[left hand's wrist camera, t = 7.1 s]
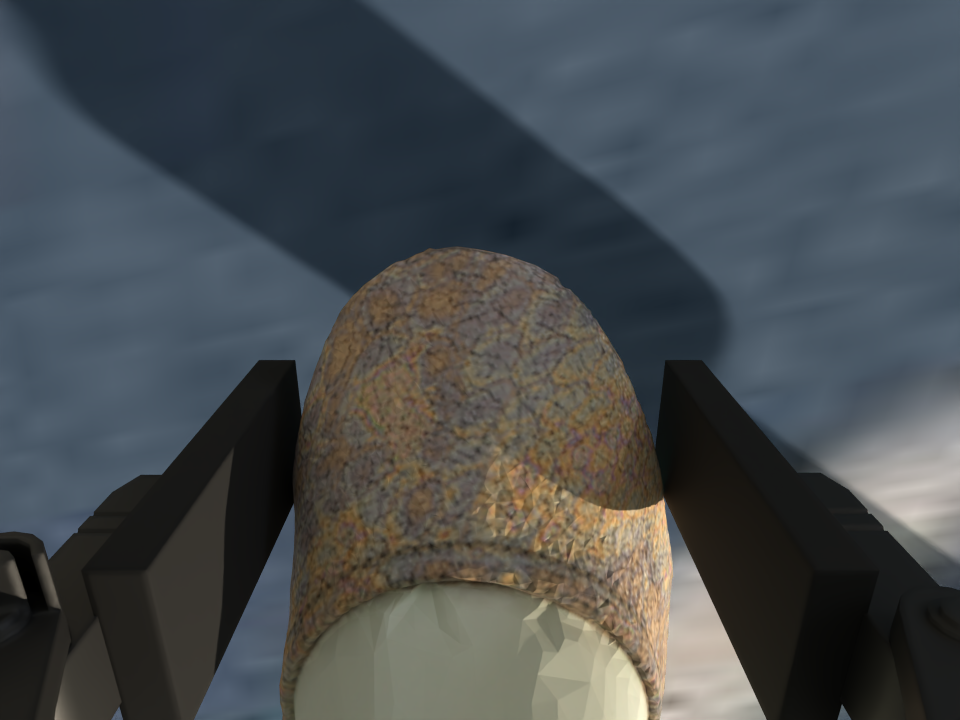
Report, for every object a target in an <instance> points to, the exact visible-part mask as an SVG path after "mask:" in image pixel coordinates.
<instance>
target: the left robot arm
mask: <svg viewBox="0 0 960 720" xmlns="http://www.w3.org/2000/svg"><path fill="white" fill-rule="evenodd" d="M301 417H302V416H301V407H300V398H299V390H298V381H297V372H296V363H295V360H259V361H258V362H257V363H256V364H255V366H254V367H253V368H252V369H251V370H250V372H249V373H248V374H247V375H246V376H245V377H244V379H243V380H242V381H241V382H240V383H239V385H238V386H237V387H236V388H235V389H234V390H233V392H232V393H231V394H230V395H229V396H228V398H227V399H226V400H225V401H224V402H223V403H222V405H221V406H220V407H219V408H218V409H217V410H216V412H215V413H214V414H213V415H212V416H211V418H210V419H209V420H208V421H207V422H206V423H205V425H204V426H203V427H202V428H201V429H200V431H199V432H198V433H197V434H196V435H195V436H194V438H193V439H192V440H191V441H190V442H189V444H188V445H187V446H186V447H185V448H184V449H183V451H182V452H181V453H180V454H179V455H178V456H177V458H176V459H175V460H174V461H173V462H172V464H171V465H170V466H169V467H168V468H167V469H166V471H165V472H164V473H163V474H162V475H140V476H138V477H137V478H135V479H133V480H132V481H130V482H128V483H127V484H125V485H123V486H122V487H120V488H118V489H117V490H115V491H113V492H112V493H111V494H110V495H109V496H108V497H107V499H106V500H105V501H104V502H103V503H102V504H101V505H100V506H99V507H98V508H97V509H96V510H95V511H94V515H93V516H90V517H89V518H88V519H87V520H86V521H85V522H84V523H83V524H82V525H81V526H80V527H79V528H78V533H74V534H73V535H72V536H71V537H70V538H69V539H68V540H67V541H66V542H65V543H64V544H63V546H62V547H61V548H60V549H59V550H58V551H57V552H56V553H55V554H54V555H53V556H52V557H51V558H50V559H49V560H48V557H47V554H46V550H45V547H44V544H43V541H41V540H40V539H39V538H37V537H36V536H34V535H33V534H28V533H21V532H6V533H0V720H111V719H112V717H113V716H114V714H115V712H116V711H117V709H118V707H119V706H120V710H121V714H122V717H123V720H194V718H195V716H196V714H197V712H198V709H199V707H200V705H201V703H202V701H203V699H204V696H205V694H206V692H207V690H208V688H209V686H210V683H211V681H212V679H213V677H214V675H215V673H216V670H217V668H218V666H219V664H220V662H221V660H222V657H223V655H224V653H225V651H226V649H227V647H228V644H229V642H230V640H231V638H232V636H233V634H234V631H235V629H236V627H237V625H238V623H239V621H240V618H241V616H242V614H243V612H244V610H245V608H246V605H247V603H248V601H249V599H250V597H251V595H252V592H253V590H254V588H255V586H256V584H257V582H258V579H259V577H260V575H261V573H262V571H263V569H264V566H265V564H266V562H267V560H268V558H269V556H270V553H271V551H272V549H273V547H274V545H275V543H276V540H277V538H278V536H279V534H280V532H281V530H282V527H283V525H284V523H285V521H286V519H287V517H288V514H289V512H290V510H291V508H292V506H293V504H294V500H293V467H294V459H295V450H296V443H297V438H298V433H299V428H300V422H301ZM655 451H656V456H657V459H658V463H659V467H660V471H661V477H662V483H663V496H664V498H665V500H666V502H667V504H668V507H669V509H670V511H671V513H672V515H673V517H674V520H675V522H676V524H677V526H678V528H679V530H680V533H681V535H682V537H683V539H684V541H685V543H686V546H687V548H688V550H689V552H690V554H691V556H692V559H693V561H694V563H695V565H696V567H697V569H698V572H699V574H700V576H701V578H702V580H703V582H704V585H705V587H706V589H707V591H708V593H709V595H710V598H711V600H712V602H713V604H714V606H715V608H716V611H717V613H718V615H719V617H720V619H721V621H722V624H723V626H724V628H725V630H726V632H727V634H728V637H729V639H730V641H731V643H732V645H733V647H734V650H735V652H736V654H737V656H738V658H739V660H740V663H741V665H742V667H743V669H744V671H745V673H746V676H747V678H748V680H749V682H750V684H751V686H752V689H753V691H754V693H755V695H756V697H757V699H758V702H759V704H760V706H761V708H762V710H763V712H764V715H765V717H766V719H767V720H837V719H838V716H839V712H840V709H841V705H842V704H843V706H844V708H845V709H846V711H847V713H848V714H849V716H850V718H851V720H960V590H956V589H953V588H949V587H941V586H939V585H938V584H937V583H936V582H935V581H934V580H933V579H932V578H931V577H930V576H929V575H928V574H927V572H926V571H925V570H924V569H923V568H922V567H921V566H920V565H919V564H918V563H917V562H916V561H915V560H914V559H913V558H912V557H911V555H910V554H909V553H908V552H907V551H906V550H905V549H904V548H903V547H902V546H901V545H900V544H899V543H898V542H897V541H896V540H895V539H894V537H893V536H892V535H891V534H890V533H889V532H888V531H884V530H883V526H882V525H881V524H880V523H879V522H878V520H877V519H876V518H875V517H874V516H873V515H872V514H868V512H867V509H866V508H865V507H864V506H863V505H862V504H861V502H860V501H859V500H858V499H857V498H856V497H855V496H854V495H853V494H852V493H851V492H850V491H849V490H848V489H846V488H845V487H843V486H841V485H840V484H838V483H836V482H835V481H833V480H831V479H830V478H828V477H826V476H825V475H823V474H821V473H797V472H796V471H795V470H794V469H793V468H792V466H791V465H790V464H789V463H788V462H787V460H786V459H785V458H784V457H783V456H782V455H781V453H780V452H779V451H778V450H777V449H776V447H775V446H774V445H773V444H772V443H771V442H770V440H769V439H768V438H767V437H766V436H765V434H764V433H763V432H762V431H761V430H760V429H759V427H758V426H757V425H756V424H755V423H754V422H753V420H752V419H751V418H750V417H749V416H748V414H747V413H746V412H745V411H744V410H743V409H742V407H741V406H740V405H739V404H738V403H737V401H736V400H735V399H734V398H733V397H732V396H731V394H730V393H729V392H728V391H727V390H726V388H725V387H724V386H723V385H722V384H721V383H720V381H719V380H718V379H717V378H716V377H715V376H714V374H713V373H712V372H711V371H710V370H709V368H708V367H707V366H706V365H705V364H704V363H703V361H702V360H665V369H664V378H663V386H662V395H661V404H660V412H659V421H658V430H657V439H656V447H655Z"/></svg>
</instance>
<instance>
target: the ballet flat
mask: <svg viewBox="0 0 960 720" xmlns="http://www.w3.org/2000/svg"><path fill="white" fill-rule="evenodd" d="M293 500H294V510H295V537H294V556H293V569H292V577H291V586H290V616H289V624H288V631H287V638H286V643H285V649H284V656H283V667H282V674H281V680H280V703H281V707H282V712H283V719H282V720H660V714H661V709H662V698H663V693H664V687H665V673H666V670H665V667H666V656H667V638H668V624H669V609H670V593H671V580H672V577H673V567H672V555H671V548H670V541H669V533H668V530H667V522H666V514H665V502H664V499H663V483H662V477H661V471H660V467H659V463H658V459H657V456H656V451H655V447H654V443H653V438H652V434H651V432H650V430H649V427H648V425H647V424H646V419H645V415H644V413H643V411H642V409H641V406H640V403H639V402H638V400H637V398H636V395H635V392H634V389H633V386H632V384H631V381H630V379H629V377H628V375H627V374H626V372H625V369H624V365H623V362H622V360H621V359H620V357H619V356H618V354H617V353H616V351H615V349H614V347H613V346H612V344H611V342H610V341H609V339H608V337H607V336H606V334H605V333H604V331H603V330H602V328H601V327H600V325H599V324H598V322H597V320H596V319H595V318H594V317H593V316H592V314H591V311H590V310H589V309H588V308H586V306H585V304H584V303H583V302H581V301H580V300H579V298H578V297H577V296H576V295H575V294H574V293H573V292H572V291H571V290H570V289H567V288H564V287H563V286H562V285H561V283H560V281H559V279H558V278H557V277H556V276H554V275H552V274H550V273H548V272H546V271H545V270H543V269H541V268H539V267H538V266H536V265H533V264H530V263H528V262H525V261H522V260H519V259H516V258H513V257H510V256H507V255H504V254H499V253H495V252H490V251H486V250H480V249H473V248H465V247H458V246H457V247H448V248H441V249H431V248H429V249H427V250H426V251H424V252H421V253H418V254H416V255H414V256H412V257H410V258H408V259H406V260H403V261H398V262H396V263H394V264H392V265H390V266H389V267H388V268H386V269H385V270H383V271H382V272H381V273H379V274H378V275H377V276H375V277H374V278H373V279H371V280H370V281H369V282H367V283H366V284H365V285H363V286H362V287H361V288H360V290H359V291H358V292H357V293H355V294H354V295H353V296H352V297H351V299H350V300H349V301H348V303H347V304H346V305H345V306H344V307H343V309H342V310H341V312H340V314H339V316H338V318H337V320H336V322H335V324H334V326H333V328H332V331H331V333H330V335H329V336H328V338H327V340H326V341H325V344H324V347H323V350H322V353H321V356H320V358H319V361H318V363H317V366H316V369H315V371H314V374H313V378H312V381H311V384H310V387H309V390H308V393H307V396H306V399H305V402H304V409H303V414H302V417H301V422H300V428H299V433H298V438H297V443H296V450H295V459H294V467H293Z"/></svg>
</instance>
